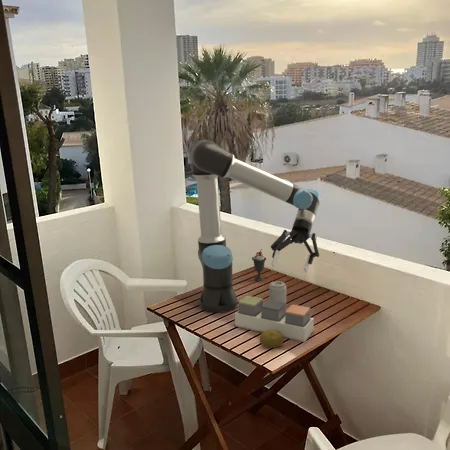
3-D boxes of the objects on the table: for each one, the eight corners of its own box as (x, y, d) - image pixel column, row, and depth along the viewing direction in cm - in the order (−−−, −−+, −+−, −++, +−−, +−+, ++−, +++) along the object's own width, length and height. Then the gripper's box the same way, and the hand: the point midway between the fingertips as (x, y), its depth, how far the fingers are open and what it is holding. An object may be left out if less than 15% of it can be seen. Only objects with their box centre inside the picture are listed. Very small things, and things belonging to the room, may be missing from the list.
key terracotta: (285, 327, 160) (285, 311, 158) (292, 320, 165) (292, 304, 164) (303, 331, 156) (303, 315, 155) (309, 323, 162) (310, 307, 160)
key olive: (238, 317, 168) (238, 301, 167) (246, 310, 174) (246, 295, 172) (254, 320, 165) (254, 305, 164) (262, 313, 171) (262, 298, 169)
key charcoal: (261, 322, 164) (261, 306, 162) (268, 315, 169) (269, 299, 168) (278, 326, 161) (278, 309, 159) (285, 318, 166) (285, 303, 165)
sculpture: (271, 341, 149) (254, 333, 155) (271, 352, 150) (254, 344, 156) (288, 333, 154) (271, 325, 160) (288, 344, 155) (271, 336, 161)
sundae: (262, 282, 210) (262, 250, 207) (249, 280, 214) (249, 248, 210) (269, 278, 216) (269, 247, 212) (256, 275, 219) (256, 245, 215)
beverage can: (288, 311, 180) (288, 281, 177) (282, 317, 175) (283, 287, 172) (272, 308, 183) (272, 279, 180) (266, 314, 177) (267, 285, 174)
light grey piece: (234, 326, 168) (234, 313, 167) (246, 316, 176) (245, 304, 175) (304, 342, 156) (304, 328, 155) (313, 331, 163) (313, 318, 162)
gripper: (334, 231, 190) (321, 277, 181) (278, 224, 202) (263, 267, 193) (331, 221, 184) (317, 268, 175) (273, 215, 196) (257, 259, 187)
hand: (288, 268), depth 184 cm, fingers open, 13 cm apart
